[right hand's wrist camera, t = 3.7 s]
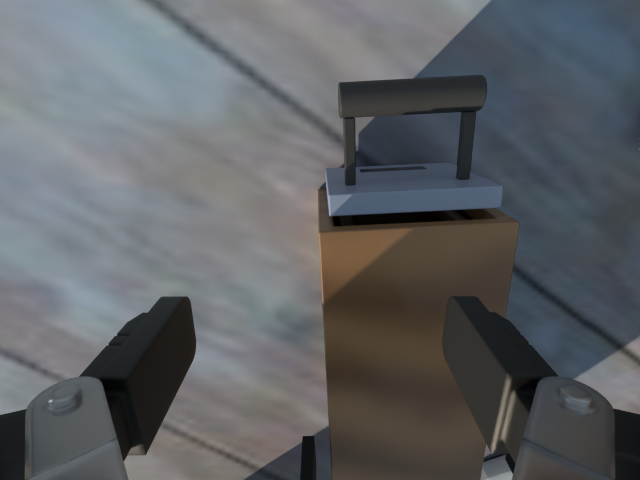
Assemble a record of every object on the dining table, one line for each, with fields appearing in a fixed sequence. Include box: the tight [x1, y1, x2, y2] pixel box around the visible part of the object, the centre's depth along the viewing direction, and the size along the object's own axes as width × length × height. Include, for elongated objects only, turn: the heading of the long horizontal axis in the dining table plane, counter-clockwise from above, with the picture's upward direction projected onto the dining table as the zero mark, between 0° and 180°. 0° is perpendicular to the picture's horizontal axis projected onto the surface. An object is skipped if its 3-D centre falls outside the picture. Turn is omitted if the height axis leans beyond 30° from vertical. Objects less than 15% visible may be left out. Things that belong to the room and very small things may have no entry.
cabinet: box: [318, 189, 520, 480], centre depth 26 cm, size 20×10×10 cm, turn 3°
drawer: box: [325, 75, 503, 226], centre depth 25 cm, size 24×9×8 cm, turn 3°
